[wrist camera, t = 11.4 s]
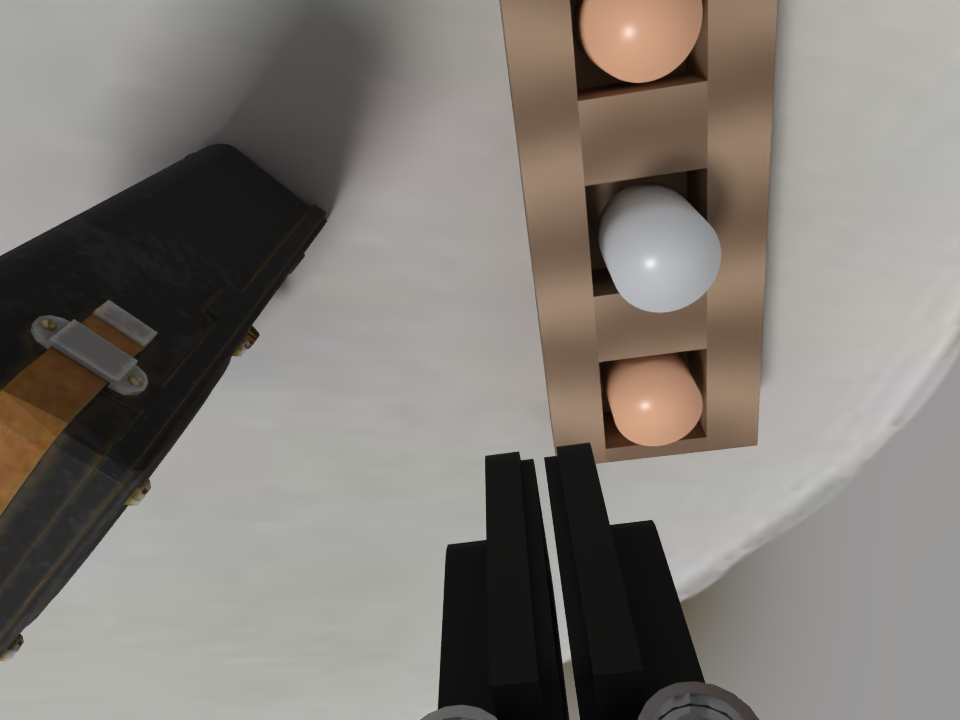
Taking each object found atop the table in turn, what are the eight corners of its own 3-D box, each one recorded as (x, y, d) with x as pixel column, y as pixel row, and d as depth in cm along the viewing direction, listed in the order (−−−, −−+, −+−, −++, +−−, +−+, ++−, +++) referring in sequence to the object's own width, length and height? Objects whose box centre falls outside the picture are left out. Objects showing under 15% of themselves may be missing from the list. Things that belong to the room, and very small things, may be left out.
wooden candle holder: (493, -53, 34) (493, -61, 29) (742, -97, 33) (782, -112, 28) (551, 423, 47) (557, 467, 42) (731, 401, 46) (757, 445, 41)
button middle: (593, 189, 35) (608, 217, 31) (692, 175, 35) (722, 201, 30) (599, 280, 37) (614, 318, 33) (693, 268, 37) (720, 305, 32)
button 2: (569, -31, 33) (581, -36, 29) (673, -49, 33) (702, -57, 28) (577, 79, 35) (590, 91, 31) (676, 63, 35) (702, 73, 31)
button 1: (598, 337, 42) (610, 377, 38) (680, 327, 42) (702, 366, 38) (603, 406, 45) (616, 450, 40) (681, 396, 44) (702, 441, 40)
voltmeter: (210, 391, 46) (-51, 761, 24) (90, 313, 43) (-329, 645, 21) (348, 219, 40) (176, 493, 18) (221, 117, 38) (-164, 289, 15)
